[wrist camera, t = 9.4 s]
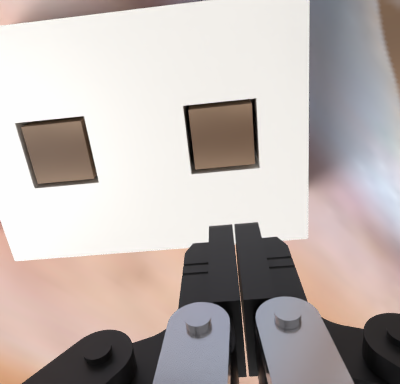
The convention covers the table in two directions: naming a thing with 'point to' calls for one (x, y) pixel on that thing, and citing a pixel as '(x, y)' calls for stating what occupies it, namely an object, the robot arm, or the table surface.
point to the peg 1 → (59, 150)
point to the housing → (155, 125)
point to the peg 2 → (222, 134)
